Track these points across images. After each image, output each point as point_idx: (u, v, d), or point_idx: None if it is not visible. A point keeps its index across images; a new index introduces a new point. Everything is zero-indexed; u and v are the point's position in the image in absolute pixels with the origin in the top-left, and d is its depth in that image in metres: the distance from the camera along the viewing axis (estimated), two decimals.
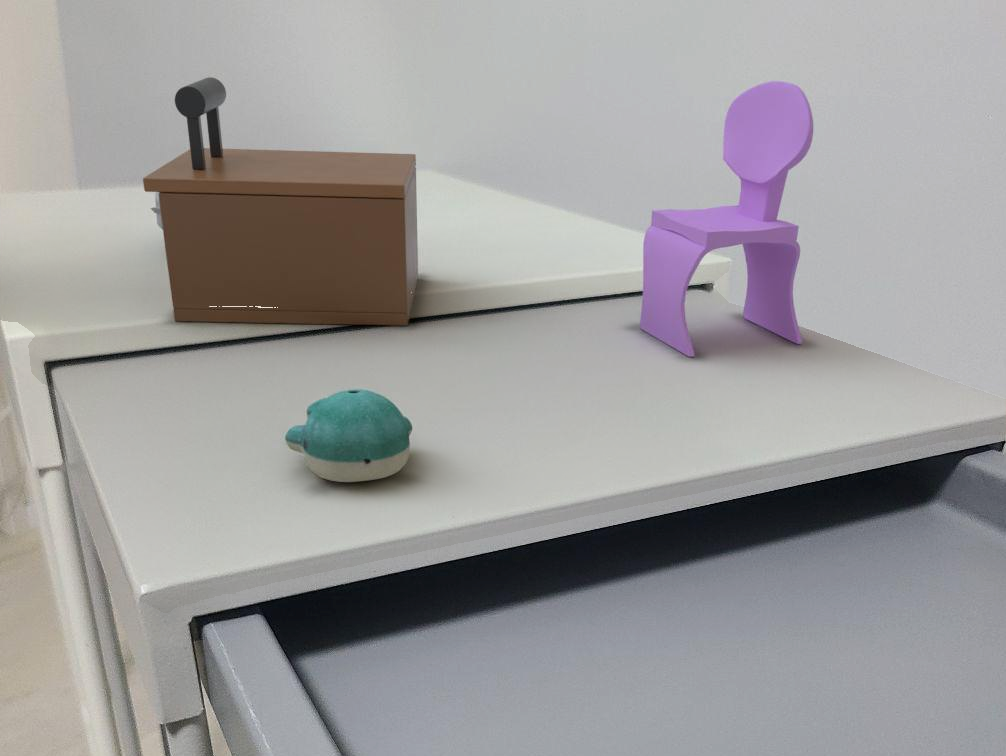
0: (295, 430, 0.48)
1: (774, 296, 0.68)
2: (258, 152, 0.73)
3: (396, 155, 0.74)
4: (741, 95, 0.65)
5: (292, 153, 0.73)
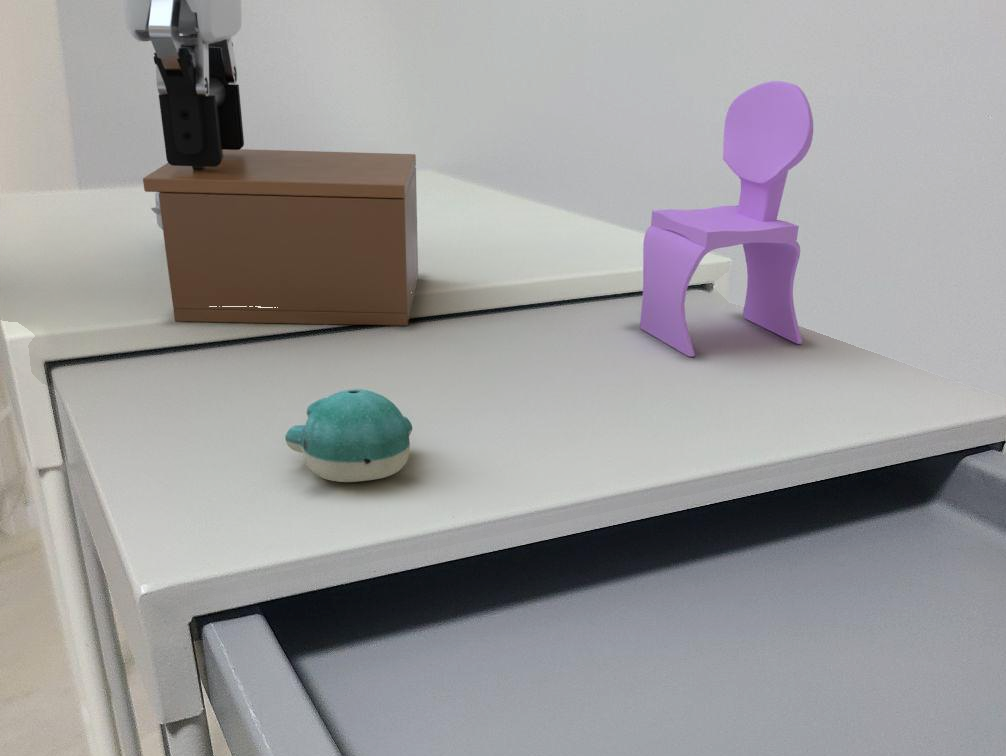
0: (295, 430, 0.47)
1: (774, 296, 0.68)
2: (258, 152, 0.73)
3: (396, 155, 0.74)
4: (741, 95, 0.65)
5: (292, 153, 0.73)
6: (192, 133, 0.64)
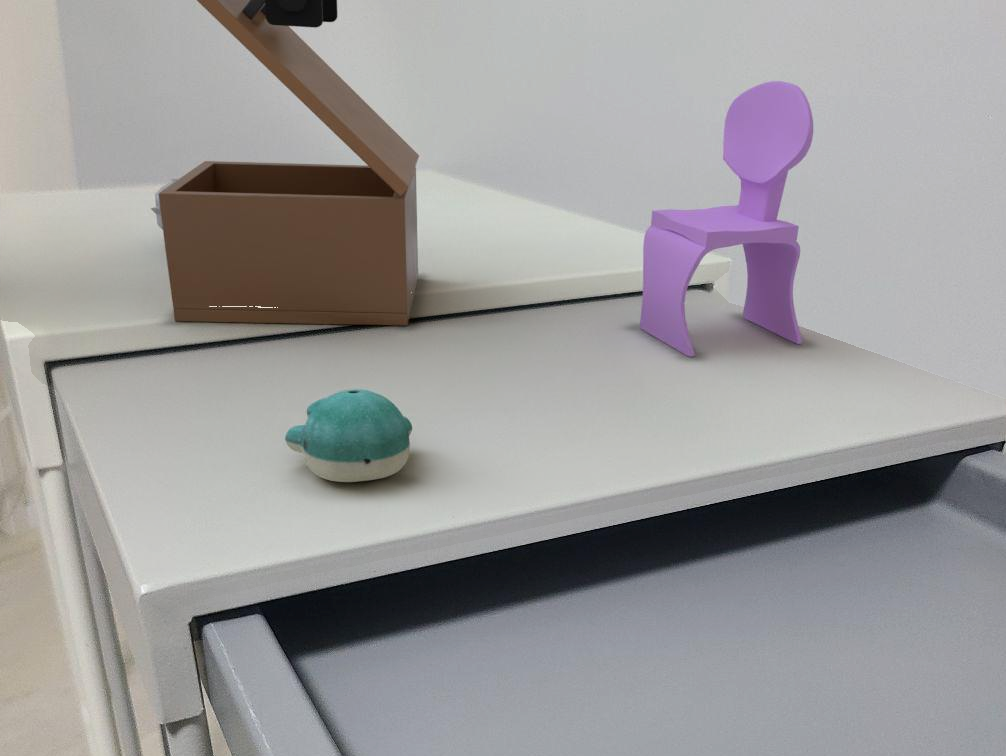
0: (295, 430, 0.48)
1: (774, 296, 0.68)
2: (297, 38, 0.70)
3: (405, 144, 0.73)
4: (741, 95, 0.65)
5: (324, 65, 0.71)
6: None
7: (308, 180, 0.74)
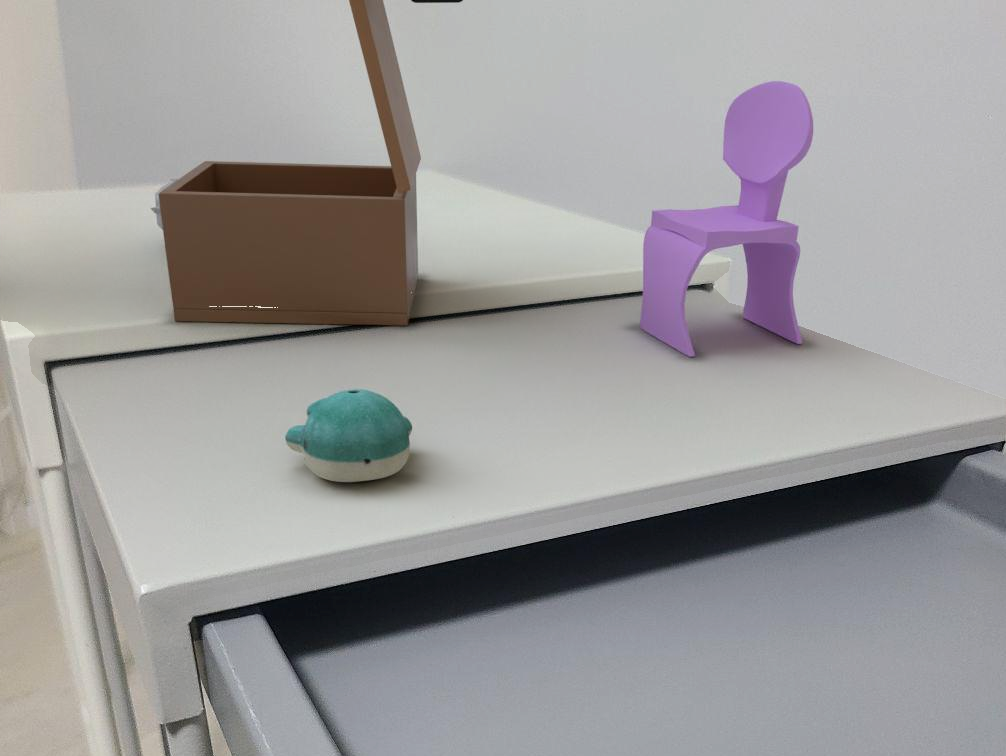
0: (295, 430, 0.48)
1: (774, 296, 0.68)
2: None
3: (416, 141, 0.73)
4: (741, 95, 0.65)
5: (388, 31, 0.70)
6: None
7: (308, 180, 0.74)
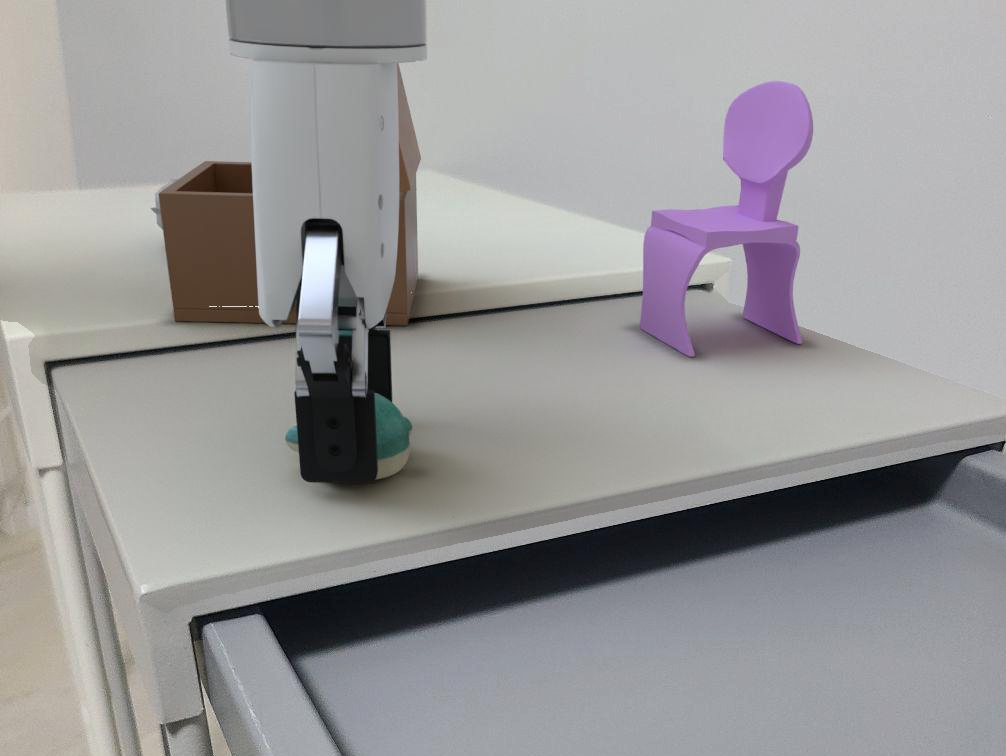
0: (295, 430, 0.47)
1: (774, 296, 0.68)
2: None
3: (416, 141, 0.73)
4: (741, 95, 0.65)
5: None
6: (342, 446, 0.44)
7: None
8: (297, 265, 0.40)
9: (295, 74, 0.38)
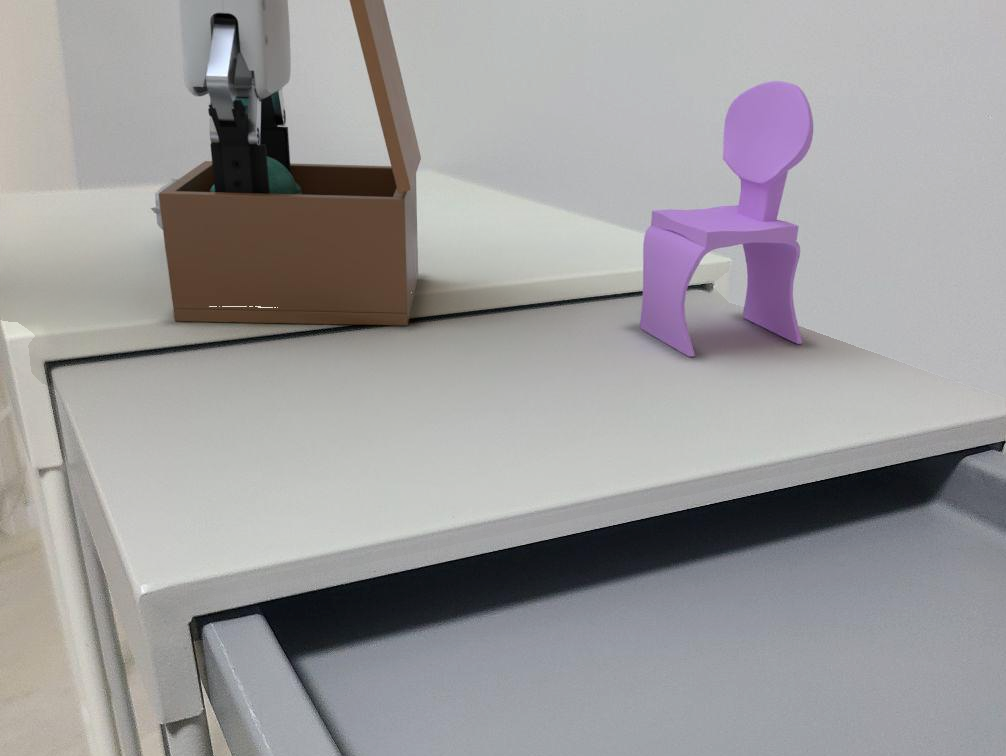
0: None
1: (774, 296, 0.68)
2: None
3: (416, 141, 0.73)
4: (741, 95, 0.65)
5: (389, 31, 0.70)
6: (243, 181, 0.64)
7: (308, 180, 0.74)
8: (208, 46, 0.61)
9: None
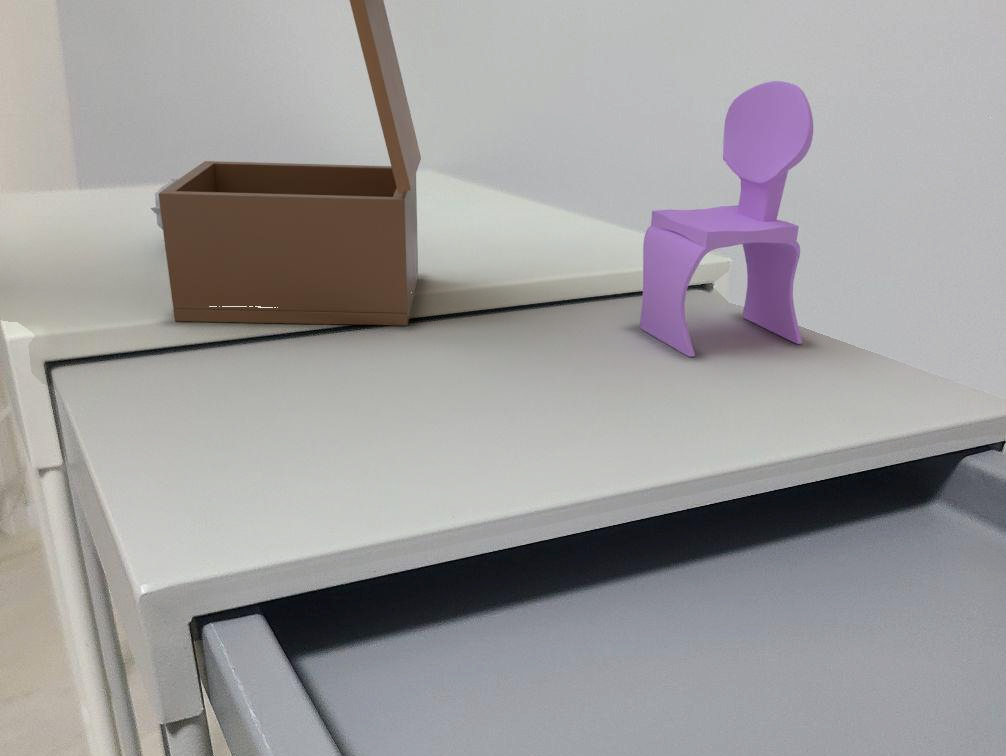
0: None
1: (774, 296, 0.68)
2: None
3: (416, 141, 0.73)
4: (741, 95, 0.65)
5: (389, 31, 0.70)
6: None
7: (308, 180, 0.74)
8: None
9: None
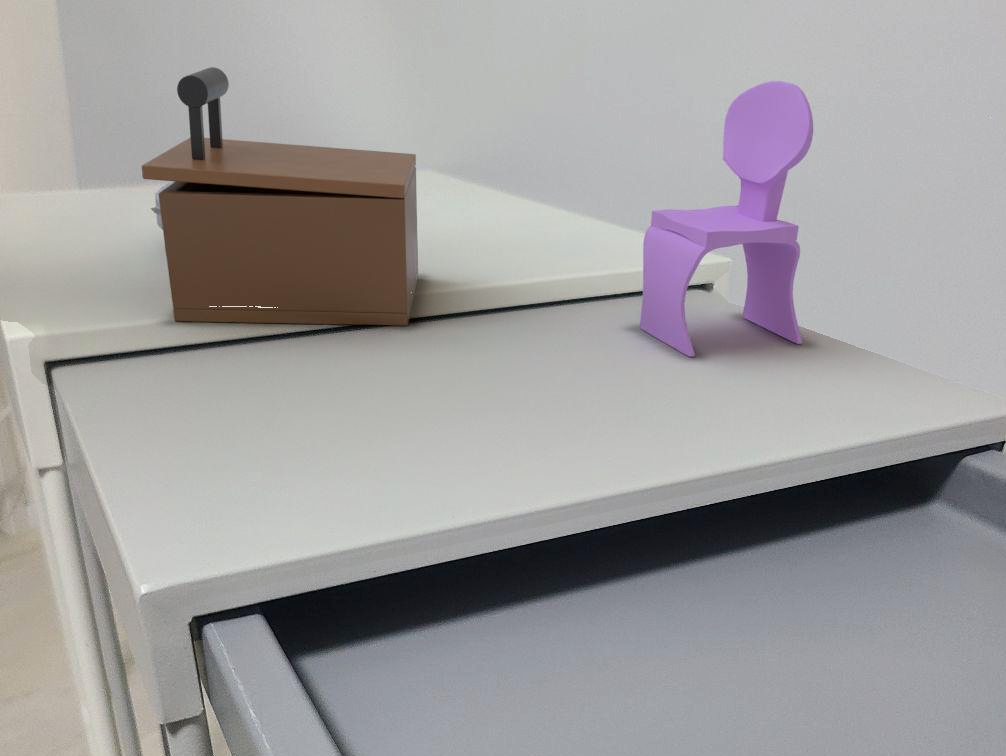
0: None
1: (774, 296, 0.68)
2: (258, 144, 0.73)
3: (396, 154, 0.74)
4: (741, 95, 0.65)
5: (292, 147, 0.73)
6: None
7: None
8: None
9: None
